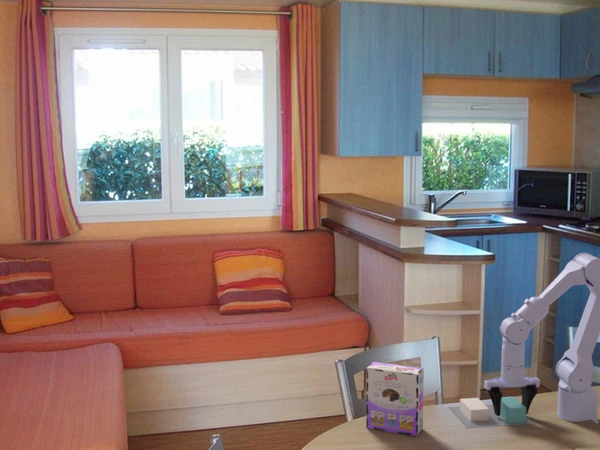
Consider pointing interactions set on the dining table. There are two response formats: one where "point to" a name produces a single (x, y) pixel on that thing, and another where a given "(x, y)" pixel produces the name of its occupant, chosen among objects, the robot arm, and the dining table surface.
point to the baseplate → (486, 422)
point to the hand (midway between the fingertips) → (511, 413)
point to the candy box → (394, 398)
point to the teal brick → (512, 410)
